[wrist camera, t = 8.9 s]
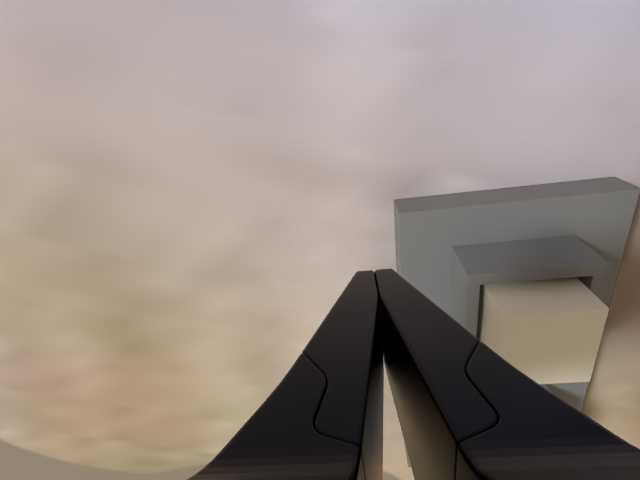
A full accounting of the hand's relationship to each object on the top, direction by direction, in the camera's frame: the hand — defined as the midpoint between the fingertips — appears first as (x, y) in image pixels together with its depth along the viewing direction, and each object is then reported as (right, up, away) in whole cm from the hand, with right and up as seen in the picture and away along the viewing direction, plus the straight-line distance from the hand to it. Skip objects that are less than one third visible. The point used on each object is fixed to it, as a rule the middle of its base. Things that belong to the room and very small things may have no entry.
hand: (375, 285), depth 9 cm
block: (+10, -6, +17) cm, 21 cm away
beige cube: (+9, -2, +11) cm, 15 cm away
